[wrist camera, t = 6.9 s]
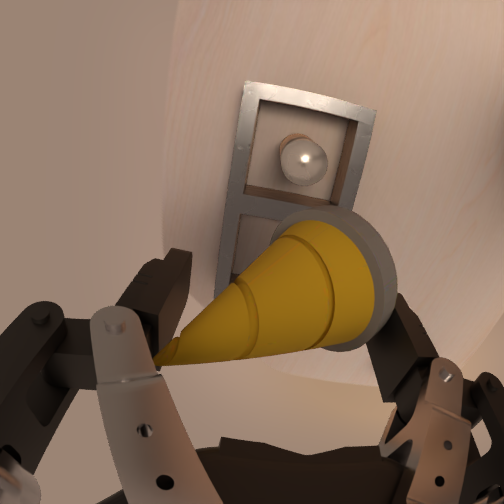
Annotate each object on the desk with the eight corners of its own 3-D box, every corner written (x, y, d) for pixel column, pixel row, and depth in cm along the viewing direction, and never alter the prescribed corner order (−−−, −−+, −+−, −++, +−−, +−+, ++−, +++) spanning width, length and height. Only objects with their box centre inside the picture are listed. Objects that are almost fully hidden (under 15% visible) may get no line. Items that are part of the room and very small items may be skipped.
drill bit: (343, 315, 15) (164, 419, 9) (310, 216, 15) (105, 275, 9) (437, 305, 10) (242, 489, 4) (400, 178, 10) (132, 233, 5)
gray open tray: (248, 84, 21) (240, 75, 16) (365, 110, 21) (391, 111, 16) (218, 281, 30) (207, 319, 24) (313, 297, 30) (320, 337, 25)
